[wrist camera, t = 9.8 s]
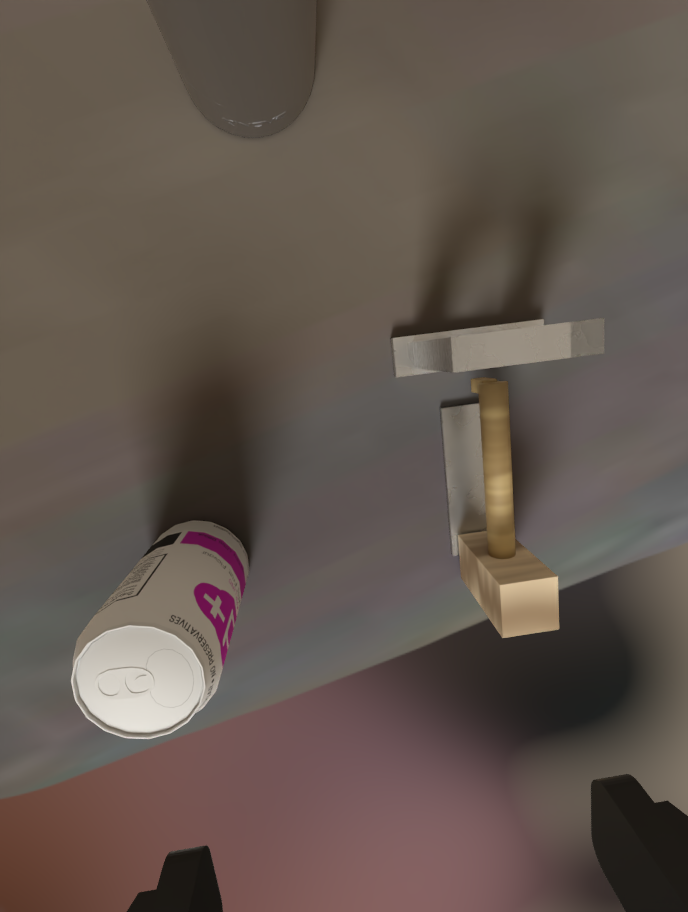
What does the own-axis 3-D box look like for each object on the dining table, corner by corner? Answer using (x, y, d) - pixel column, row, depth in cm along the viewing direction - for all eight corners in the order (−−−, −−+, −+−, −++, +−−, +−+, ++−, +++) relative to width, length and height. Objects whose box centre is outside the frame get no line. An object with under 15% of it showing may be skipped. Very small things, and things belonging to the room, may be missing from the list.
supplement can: (244, 513, 39) (206, 607, 24) (254, 602, 41) (224, 740, 26) (145, 521, 39) (45, 621, 24) (159, 611, 40) (75, 756, 26)
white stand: (390, 338, 37) (424, 331, 26) (537, 320, 38) (629, 305, 27) (412, 559, 41) (448, 631, 30) (544, 540, 42) (626, 603, 31)
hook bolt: (446, 380, 37) (489, 387, 28) (495, 374, 37) (552, 379, 29) (461, 577, 41) (502, 638, 32) (505, 570, 41) (559, 629, 32)
